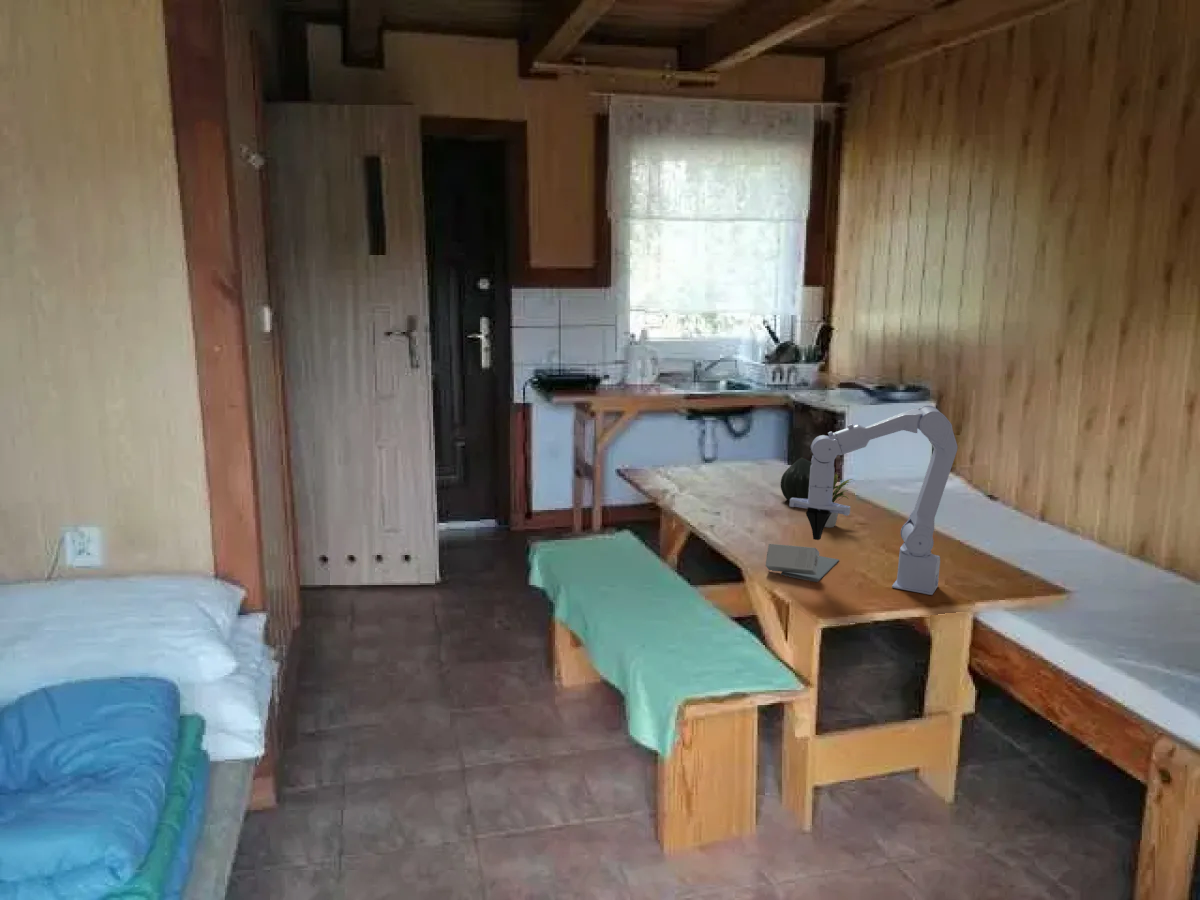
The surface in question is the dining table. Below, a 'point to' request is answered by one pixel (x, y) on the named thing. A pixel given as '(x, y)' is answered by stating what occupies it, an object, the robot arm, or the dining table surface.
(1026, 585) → the dining table surface
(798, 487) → the squash
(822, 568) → the mat
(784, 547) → the skincare box
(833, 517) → the house plant
